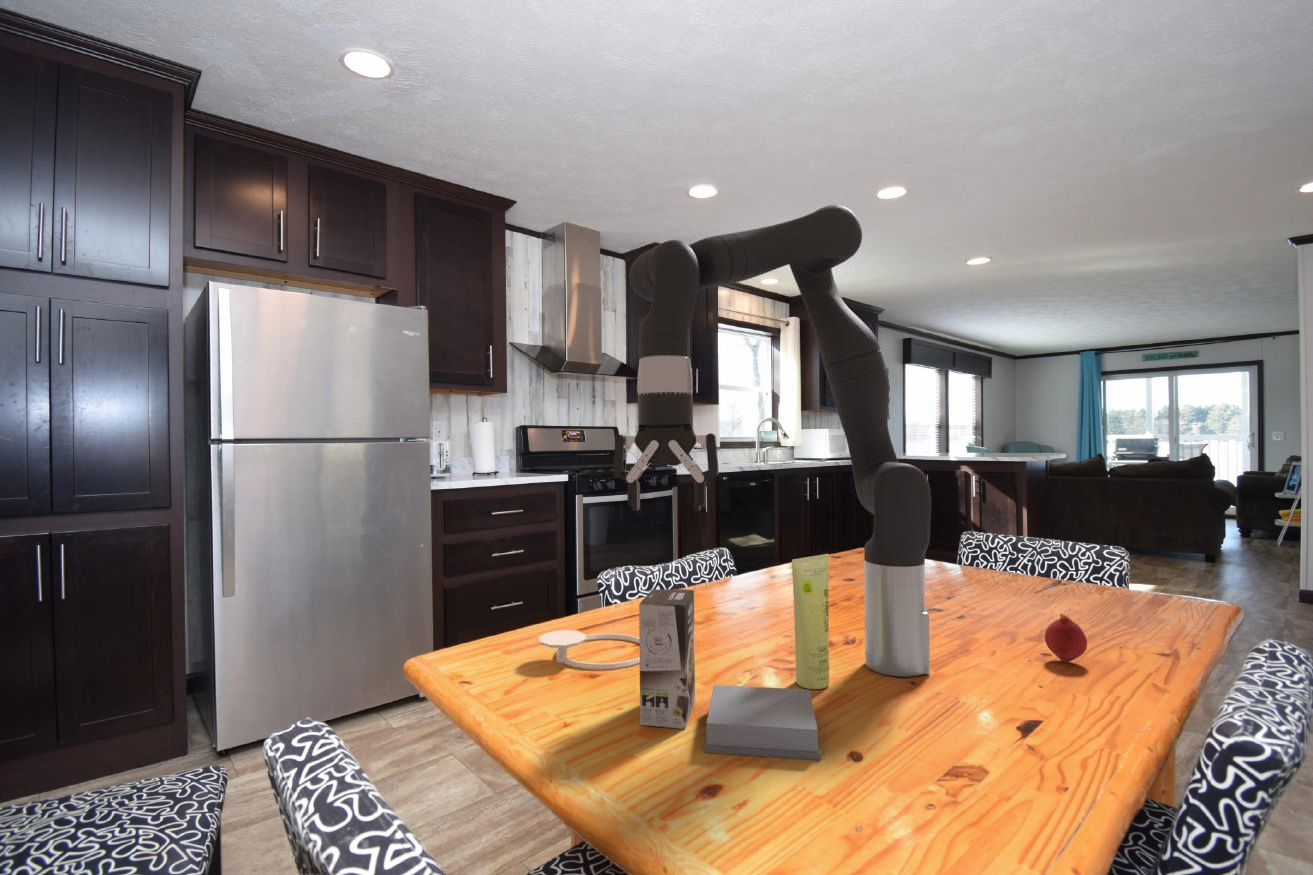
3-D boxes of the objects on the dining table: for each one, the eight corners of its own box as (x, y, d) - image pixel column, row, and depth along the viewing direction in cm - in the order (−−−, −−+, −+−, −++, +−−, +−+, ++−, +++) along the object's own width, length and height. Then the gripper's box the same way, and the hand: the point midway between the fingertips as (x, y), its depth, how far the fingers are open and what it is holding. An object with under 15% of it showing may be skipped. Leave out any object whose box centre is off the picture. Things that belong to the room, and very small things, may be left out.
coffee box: (687, 730, 83) (685, 605, 83) (638, 726, 84) (637, 603, 84) (697, 701, 92) (695, 588, 92) (652, 698, 93) (651, 587, 93)
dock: (812, 713, 87) (811, 688, 87) (820, 760, 75) (820, 730, 75) (711, 708, 89) (711, 683, 89) (704, 752, 77) (703, 724, 77)
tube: (828, 693, 94) (826, 560, 94) (793, 689, 95) (791, 558, 95) (830, 679, 99) (828, 553, 99) (796, 676, 101) (795, 552, 101)
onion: (1083, 659, 107) (1083, 611, 107) (1090, 670, 102) (1089, 620, 102) (1043, 654, 109) (1042, 607, 109) (1047, 665, 104) (1047, 616, 104)
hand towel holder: (671, 634, 110) (559, 656, 99) (671, 660, 110) (559, 684, 99) (624, 611, 125) (522, 628, 114) (624, 634, 125) (522, 653, 114)
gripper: (719, 392, 91) (720, 507, 91) (620, 394, 93) (621, 506, 93) (715, 388, 83) (716, 513, 83) (608, 391, 85) (609, 512, 85)
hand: (666, 509), depth 88 cm, fingers open, 8 cm apart
